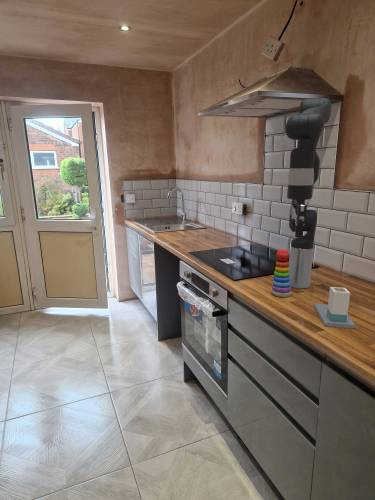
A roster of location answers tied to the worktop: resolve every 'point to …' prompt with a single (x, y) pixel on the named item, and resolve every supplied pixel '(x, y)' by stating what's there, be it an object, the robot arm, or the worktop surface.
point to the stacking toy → (282, 275)
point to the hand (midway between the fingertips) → (296, 234)
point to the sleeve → (338, 304)
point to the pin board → (326, 321)
